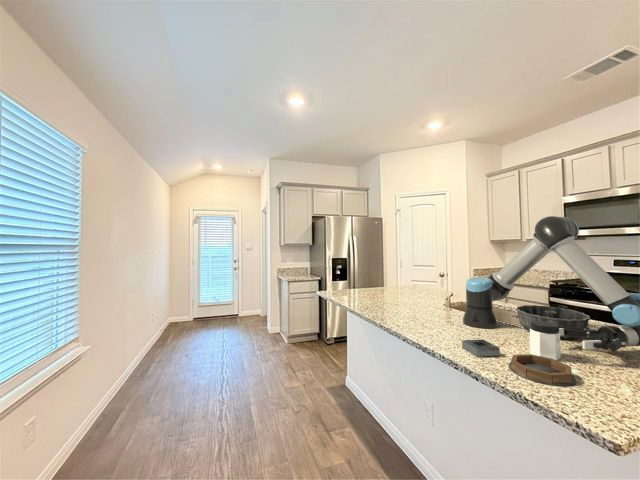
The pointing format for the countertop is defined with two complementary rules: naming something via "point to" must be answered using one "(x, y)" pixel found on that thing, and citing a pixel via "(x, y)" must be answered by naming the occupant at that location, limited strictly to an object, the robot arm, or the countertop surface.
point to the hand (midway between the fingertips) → (564, 338)
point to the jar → (545, 339)
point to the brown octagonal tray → (542, 370)
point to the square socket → (480, 348)
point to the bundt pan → (552, 317)
